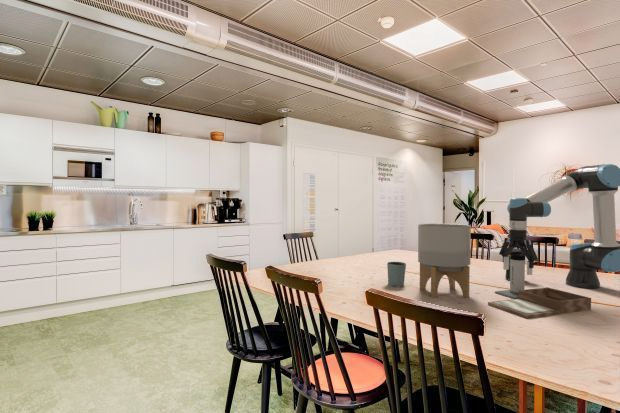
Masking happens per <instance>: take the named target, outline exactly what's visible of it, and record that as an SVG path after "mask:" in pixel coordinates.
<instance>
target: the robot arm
mask: <svg viewBox="0 0 620 413" xmlns="http://www.w3.org/2000/svg"><path fill="white" fill-rule="evenodd" d="M619 187H620V167H619V166H618V165H616V164H612V163H611V164H610V163H609V164H608V163H607V164H605V163H603V164H595V165H587V166H586V165H585V166H582V167H579V168H576V169H575V170H572V171H571V172H569V173H567V174H565V175H562V176H561V177H560V179H559V180H557V181H555V182H553V183H551V184H549V185H548V186H545V187H543V188H542V189H541V188H540V190H537V191H536V192H533V193H532V194H530V195H528V196H526V197H522V198H521V197H511V198H509V199H510V200H509V204H508V205H507V208H506V209H507V213H508V214H509V217H508V218H509V219H508V220H509V223H508V224H509V230H508V237H504V240H503V244H502V246H501V249H500V250H499V253H498V255H500V256H501V257H502V263H503V266H502V268H503V270H504V271H506V270H508V269H509V257H507V256H508V255H509V253H510V252H511V251H512V250H513V248H517V249H521V250H522V251H523V253H524V254H525V258H526V259H527V260H526V275H527V276H531V275H533V269H534V266H535V262H536V261H538V260H539V258H538V256H537V254H536V251H535V248H534V246H533V241H532V240H531V239H529V240H526V238H527V237H528V236H527V232H528V231H527V228H528V225H527V223H528V222H527V221H528V220H527V219H528V218H545V217H546V218H547V217H549V215H551V212H552V207H551V205H550V202H551V201H553V200H555V199H558V198H559V197H561V196H563V195H565V194H567V193H569V192H570V193H572V192H575V191H577V190H581V189H588V193H589V194H591V195H592V212H593V231H594V232H593V233H594V234H593V235H594V240H593V242H592V243H589V242H588V243H587V242H586V243H572V244H571V245H570V246H569V271H568V272H567V275H566V277H565V285H568V286H571V287H575V288H583V289H599V288H601V282H600V279H599V276H598V274H597V270H599V271H603V272H606V273H618V272H620V244H619V243H618V242H617V229H616V228H617V227H616V208H615V206H616V204H615V194H616V193H617V192H618V191H619Z"/></svg>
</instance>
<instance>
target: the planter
mask: <svg viewBox="0 0 620 413" xmlns="http://www.w3.org/2000/svg"><path fill="white" fill-rule="evenodd" d="M417 226H418V227H417V230H418V231H417V234H418V235H417V238H418V239H417V248H418V250H417V261H418V263H419V290H423V291H425V290H426V289H427V284H428V281H429V280H430V298H432V299H436V298H437V297H438V288H439V284H440V282H441V280H442V278H443V277H444V276H446V277H447V279H448V284H449V289H450V290H455V289H456V283H457V284H458V285H459V287H460V289H461V292H462V297H463V298H467V299H468V298H470V276H471V275H470V274H471V273H470V269H471V268H470V266H471V249H472V248H471V245H472V244H471V241H472V240H471V238H472V237H471V235H472V234H471V233H472V232H471V231H472V226H471V225H469V224H460V223H420V224H418V225H417Z"/></svg>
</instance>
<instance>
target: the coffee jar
mask: <svg viewBox="0 0 620 413" xmlns="http://www.w3.org/2000/svg"><path fill="white" fill-rule="evenodd" d="M513 252H519V253H523V251H522V250H521V249H520V248H513V250H512V251H511V252H510V253H509V255H508V256H507V257H509V269H508V270H505V276H504V277H505V279H506V280H507V281H510V259H511V253H513ZM523 254H524V253H523Z"/></svg>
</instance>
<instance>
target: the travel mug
mask: <svg viewBox="0 0 620 413" xmlns="http://www.w3.org/2000/svg"><path fill="white" fill-rule="evenodd" d="M525 267H526V256H525V254H523V253H519V252H513V253H511V259H510V280H509V290H510V292H511V293H513V294H519V290H525V289H526V288H525V282H526V280H525V278H526V276H525V272H526V270H525Z"/></svg>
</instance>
